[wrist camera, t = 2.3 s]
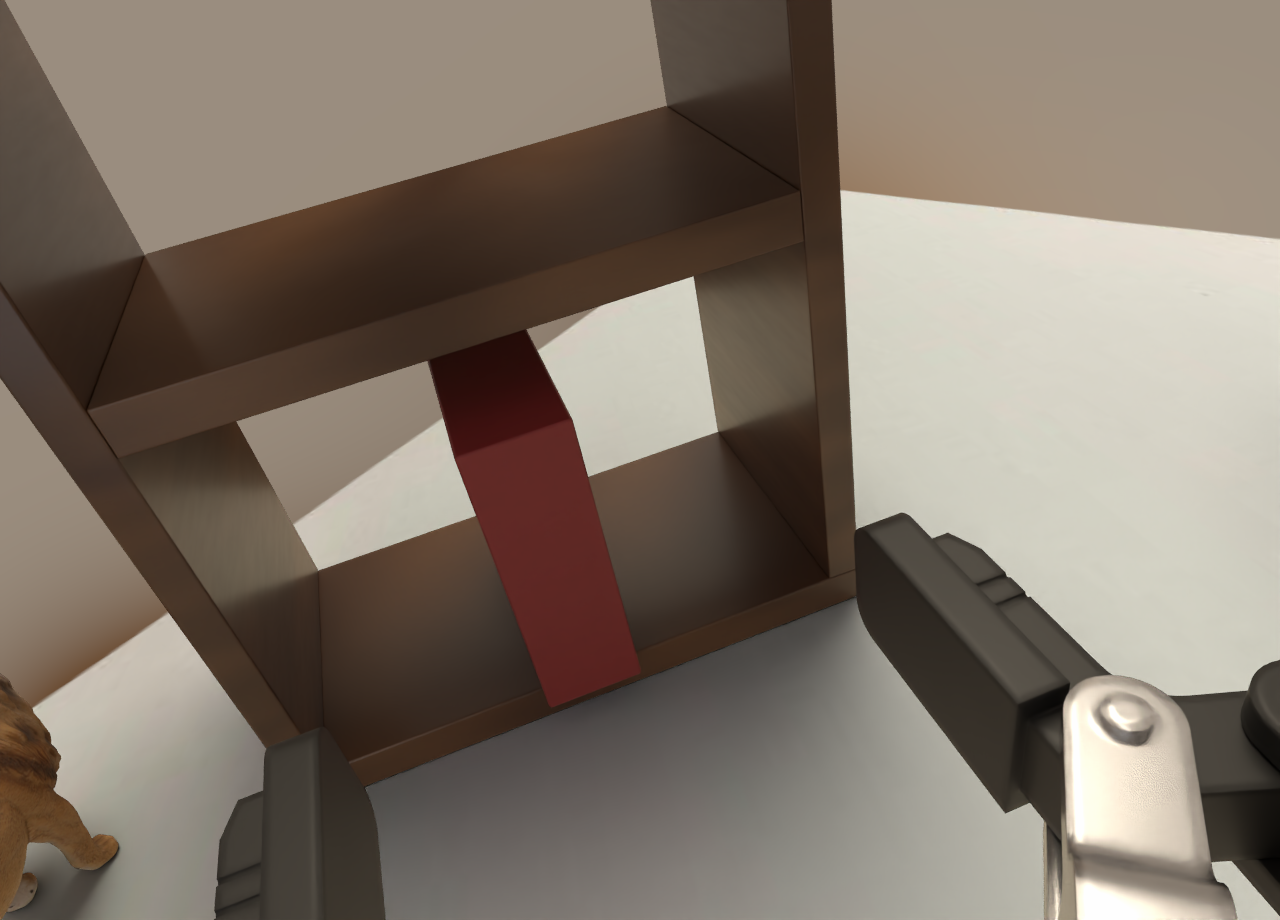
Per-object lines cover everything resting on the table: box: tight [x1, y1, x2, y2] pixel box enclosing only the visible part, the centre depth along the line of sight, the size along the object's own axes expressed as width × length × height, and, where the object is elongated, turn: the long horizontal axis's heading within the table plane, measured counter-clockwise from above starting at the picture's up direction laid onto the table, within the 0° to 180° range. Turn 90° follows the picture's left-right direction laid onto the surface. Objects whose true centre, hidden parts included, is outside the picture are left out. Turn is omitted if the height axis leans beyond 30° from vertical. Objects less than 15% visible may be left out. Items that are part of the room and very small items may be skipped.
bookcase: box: [0, 0, 856, 786], centre depth 28 cm, size 21×11×32 cm, turn 109°
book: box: [428, 329, 641, 707], centre depth 31 cm, size 3×9×11 cm, turn 19°
